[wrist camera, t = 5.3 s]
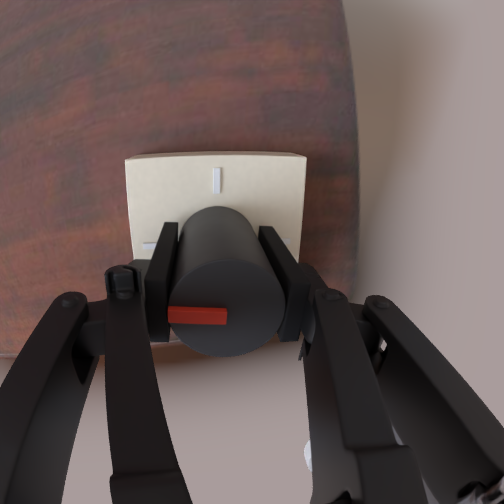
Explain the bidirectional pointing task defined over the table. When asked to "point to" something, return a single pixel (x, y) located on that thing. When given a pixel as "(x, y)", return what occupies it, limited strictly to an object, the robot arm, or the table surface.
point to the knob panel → (215, 192)
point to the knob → (223, 286)
